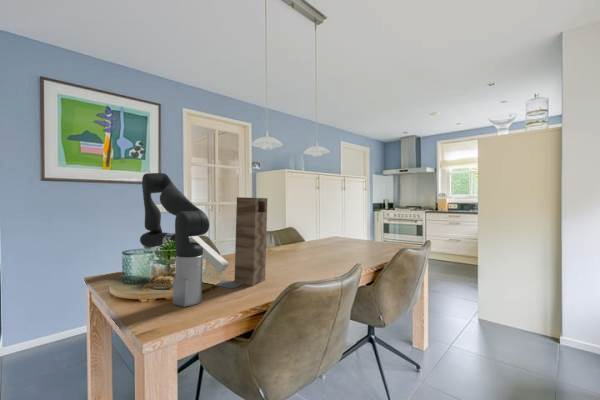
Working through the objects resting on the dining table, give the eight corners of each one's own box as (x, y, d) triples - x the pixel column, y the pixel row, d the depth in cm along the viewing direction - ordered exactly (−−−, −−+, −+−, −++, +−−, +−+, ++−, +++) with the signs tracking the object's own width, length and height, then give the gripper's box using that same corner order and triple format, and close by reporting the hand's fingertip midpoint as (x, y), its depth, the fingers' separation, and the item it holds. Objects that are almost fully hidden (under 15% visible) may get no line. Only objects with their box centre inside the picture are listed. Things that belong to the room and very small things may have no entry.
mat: (232, 288, 117) (232, 287, 117) (187, 280, 127) (187, 279, 127) (242, 284, 124) (242, 283, 124) (198, 276, 134) (198, 275, 134)
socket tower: (253, 285, 122) (255, 198, 122) (234, 282, 126) (236, 197, 126) (265, 280, 131) (267, 198, 131) (247, 277, 135) (249, 197, 135)
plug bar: (219, 272, 123) (223, 265, 122) (187, 243, 130) (190, 236, 129) (225, 270, 126) (229, 263, 126) (193, 242, 134) (197, 235, 133)
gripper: (163, 235, 130) (191, 238, 123) (186, 231, 143) (213, 235, 136) (162, 251, 130) (190, 255, 123) (186, 246, 143) (212, 250, 136)
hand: (202, 244), depth 129 cm, fingers closed on plug bar, 4 cm apart
